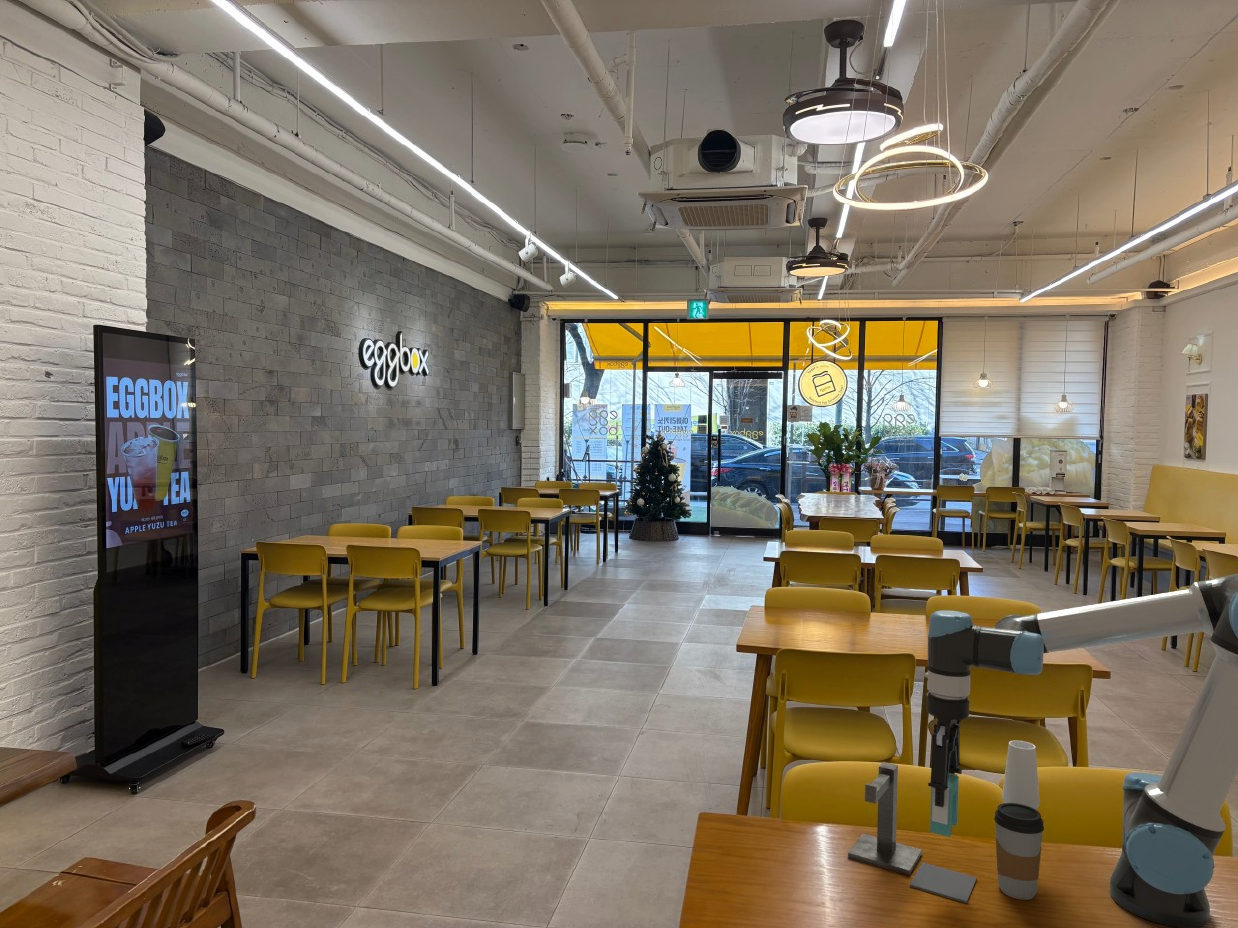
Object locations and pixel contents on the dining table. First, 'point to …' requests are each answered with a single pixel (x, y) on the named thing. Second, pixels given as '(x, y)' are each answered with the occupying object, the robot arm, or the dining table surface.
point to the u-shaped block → (952, 809)
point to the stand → (885, 827)
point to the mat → (943, 882)
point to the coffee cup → (1018, 849)
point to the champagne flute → (1021, 775)
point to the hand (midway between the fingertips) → (944, 813)
